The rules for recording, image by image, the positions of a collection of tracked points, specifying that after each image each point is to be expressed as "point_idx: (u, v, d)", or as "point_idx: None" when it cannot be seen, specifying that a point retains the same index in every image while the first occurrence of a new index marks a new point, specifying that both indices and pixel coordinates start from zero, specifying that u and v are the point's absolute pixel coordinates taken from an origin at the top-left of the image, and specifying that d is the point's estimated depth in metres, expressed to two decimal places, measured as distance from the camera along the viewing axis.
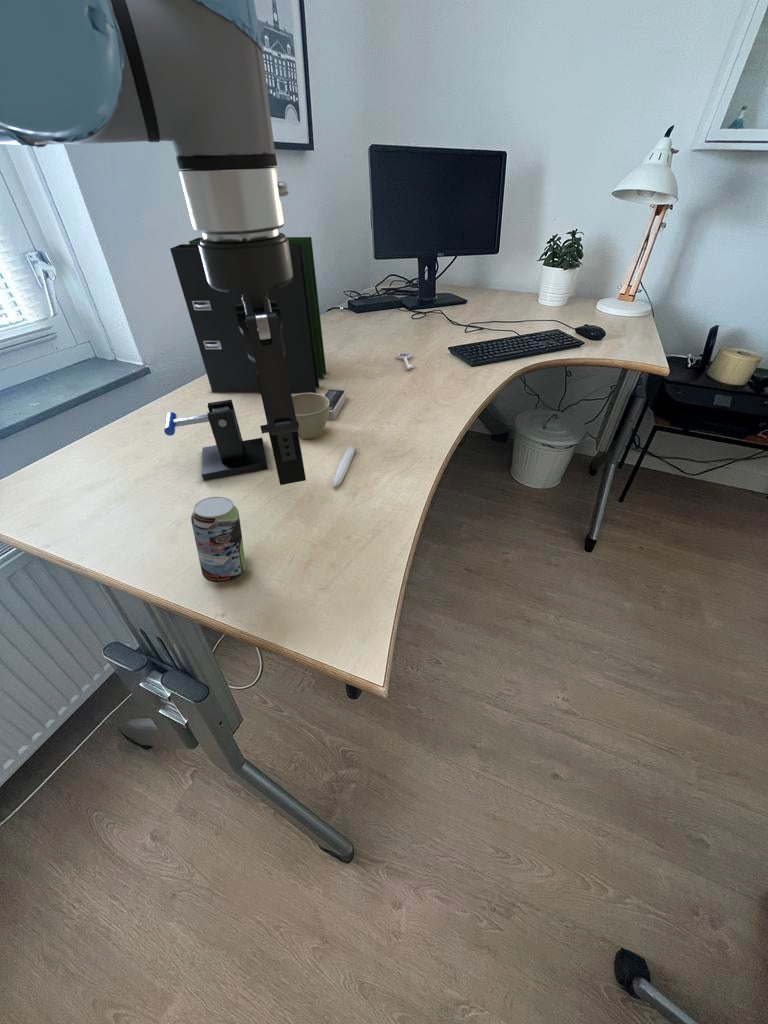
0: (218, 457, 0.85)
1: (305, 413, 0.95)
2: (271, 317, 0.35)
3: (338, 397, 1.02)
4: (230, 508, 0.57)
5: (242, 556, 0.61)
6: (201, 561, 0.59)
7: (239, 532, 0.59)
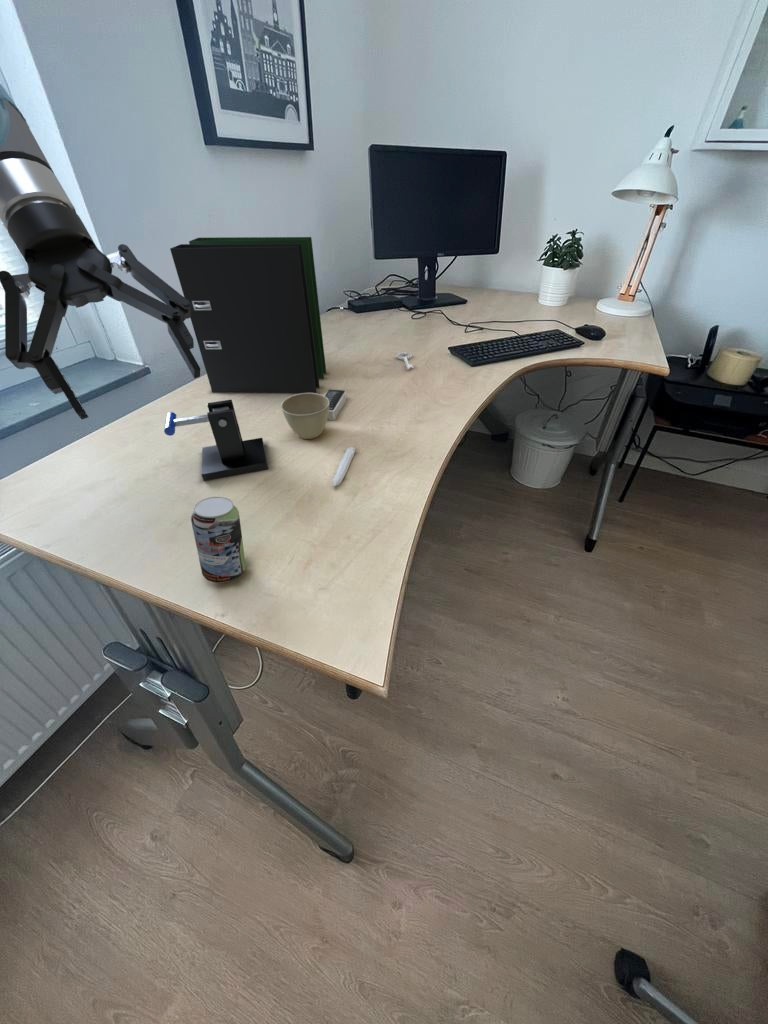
0: (218, 457, 0.85)
1: (305, 413, 0.95)
2: None
3: (339, 397, 1.02)
4: (230, 508, 0.57)
5: (242, 556, 0.61)
6: (201, 561, 0.59)
7: (239, 532, 0.59)
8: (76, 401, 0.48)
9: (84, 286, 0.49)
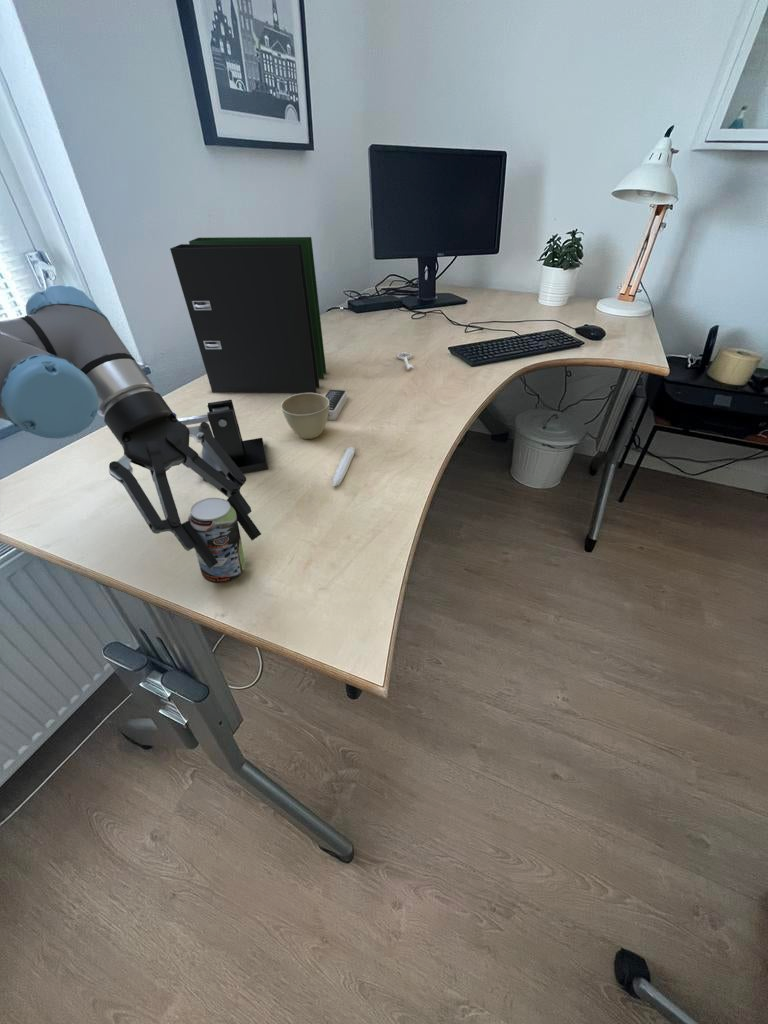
0: None
1: (305, 413, 0.95)
2: None
3: (339, 397, 1.02)
4: (227, 510, 0.56)
5: (241, 556, 0.61)
6: (200, 562, 0.59)
7: (237, 533, 0.59)
8: (212, 555, 0.55)
9: (172, 455, 0.56)
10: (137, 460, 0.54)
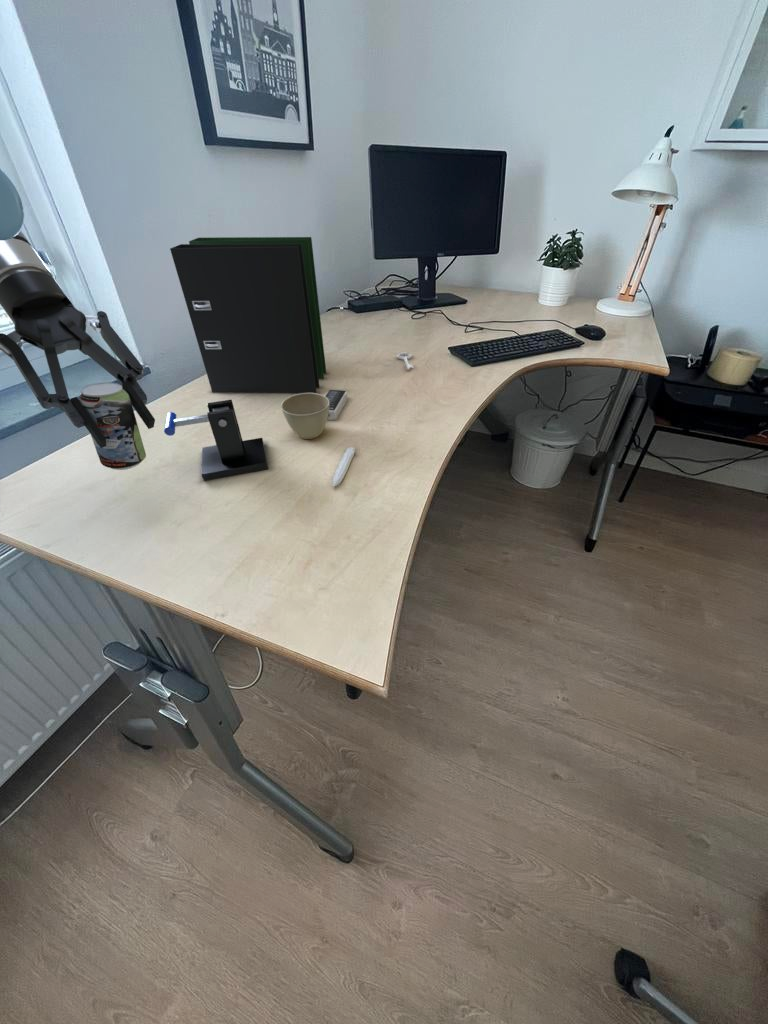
0: (218, 457, 0.85)
1: (305, 413, 0.95)
2: None
3: (340, 397, 1.02)
4: (117, 390, 0.59)
5: (138, 444, 0.63)
6: (95, 446, 0.61)
7: (131, 417, 0.61)
8: (100, 431, 0.57)
9: (65, 336, 0.58)
10: (27, 336, 0.56)
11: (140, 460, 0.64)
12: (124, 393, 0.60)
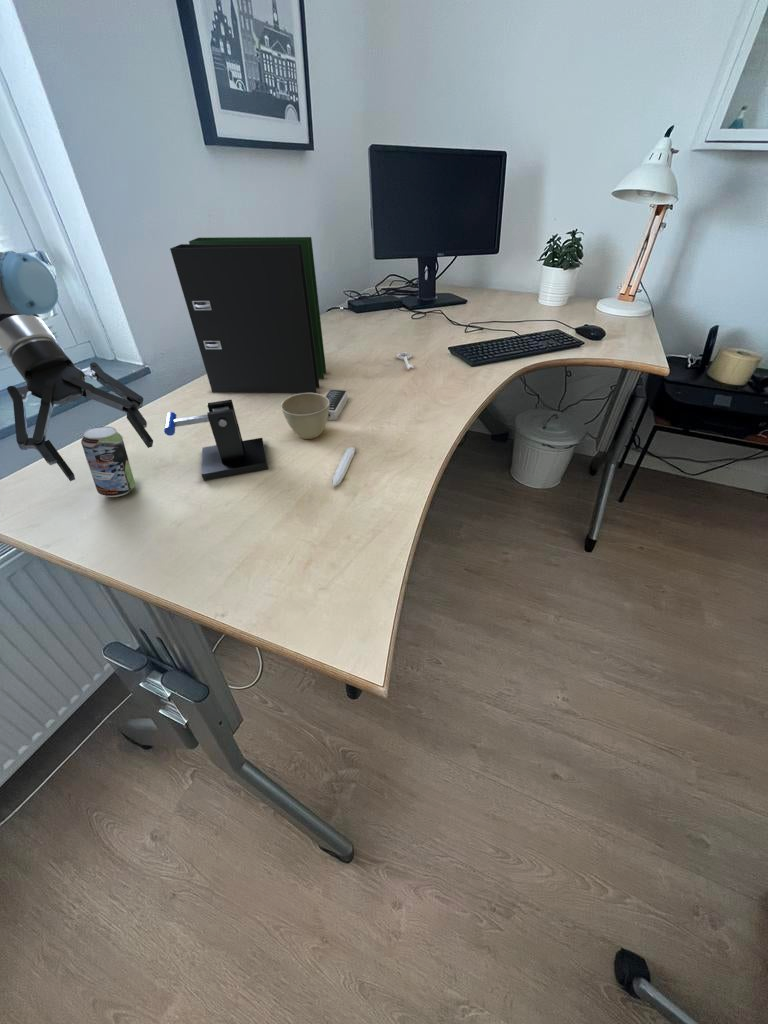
0: (218, 457, 0.85)
1: (305, 413, 0.95)
2: None
3: (340, 397, 1.02)
4: (112, 433, 0.73)
5: (128, 476, 0.77)
6: (93, 477, 0.75)
7: (123, 454, 0.75)
8: (68, 468, 0.69)
9: (67, 391, 0.72)
10: (37, 393, 0.70)
11: (130, 489, 0.78)
12: (118, 435, 0.74)
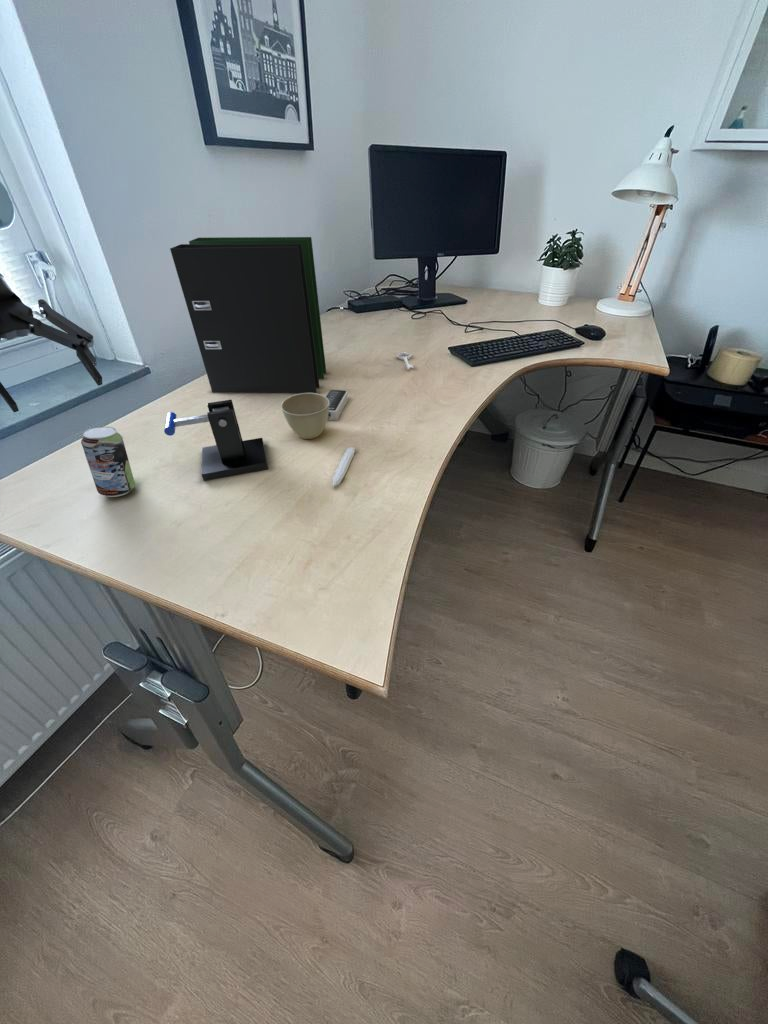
0: (218, 457, 0.85)
1: (305, 413, 0.95)
2: None
3: (340, 397, 1.02)
4: (112, 433, 0.73)
5: (128, 476, 0.77)
6: (93, 477, 0.75)
7: (123, 454, 0.75)
8: (11, 397, 0.70)
9: (14, 325, 0.73)
10: None
11: (130, 489, 0.78)
12: (118, 435, 0.74)
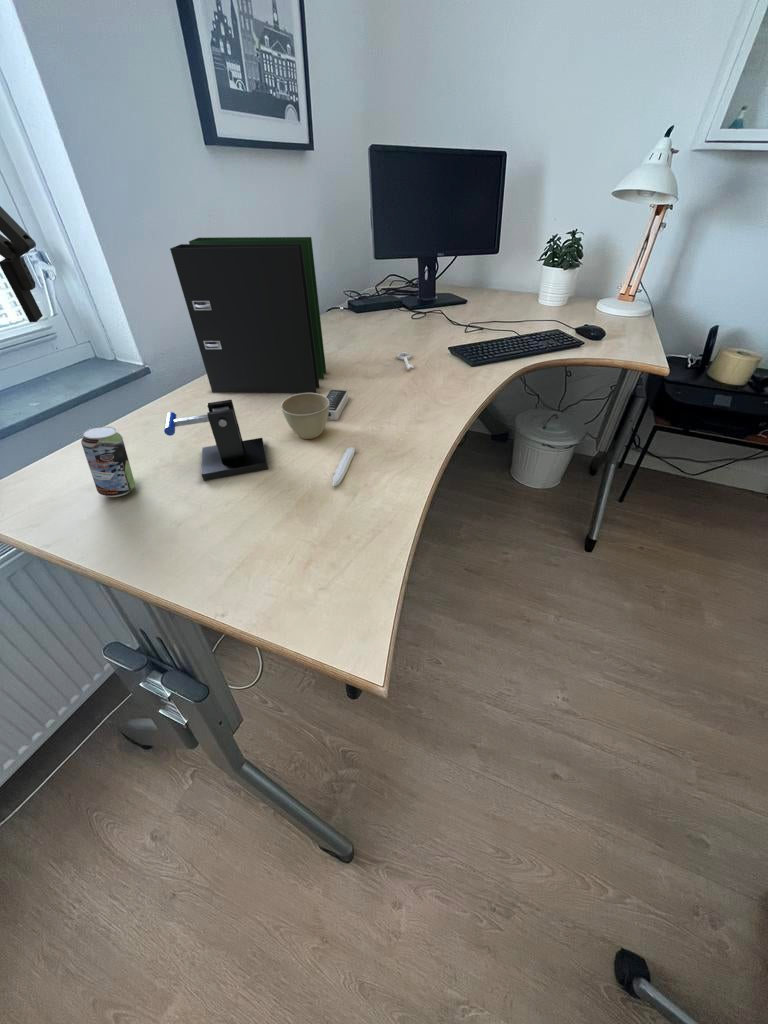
0: (218, 457, 0.85)
1: (305, 413, 0.95)
2: None
3: (341, 397, 1.02)
4: (112, 433, 0.73)
5: (128, 476, 0.77)
6: (93, 477, 0.75)
7: (123, 454, 0.75)
8: None
9: None
10: None
11: (130, 489, 0.78)
12: (118, 435, 0.74)
